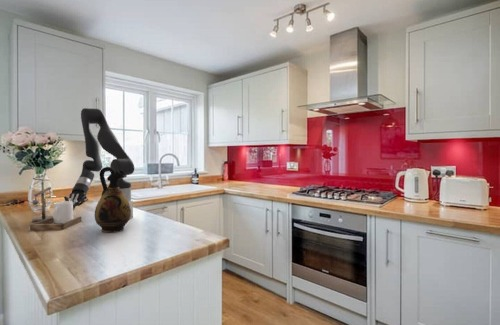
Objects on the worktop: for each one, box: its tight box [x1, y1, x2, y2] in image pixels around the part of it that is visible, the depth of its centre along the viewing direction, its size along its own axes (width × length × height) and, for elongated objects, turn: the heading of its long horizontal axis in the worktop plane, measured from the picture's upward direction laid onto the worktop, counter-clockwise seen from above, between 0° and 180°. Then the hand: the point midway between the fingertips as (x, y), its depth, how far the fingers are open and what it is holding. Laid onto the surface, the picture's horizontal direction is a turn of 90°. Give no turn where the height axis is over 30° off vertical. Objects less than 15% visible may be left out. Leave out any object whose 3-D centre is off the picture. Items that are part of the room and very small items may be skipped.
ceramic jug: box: [94, 166, 131, 234], centre depth 124 cm, size 17×15×30 cm
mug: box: [52, 200, 74, 224], centre depth 137 cm, size 12×8×10 cm
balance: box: [28, 186, 57, 223], centre depth 143 cm, size 6×16×17 cm, turn 3°
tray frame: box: [29, 216, 82, 231], centre depth 132 cm, size 15×15×2 cm
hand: (69, 211), depth 143 cm, fingers closed
